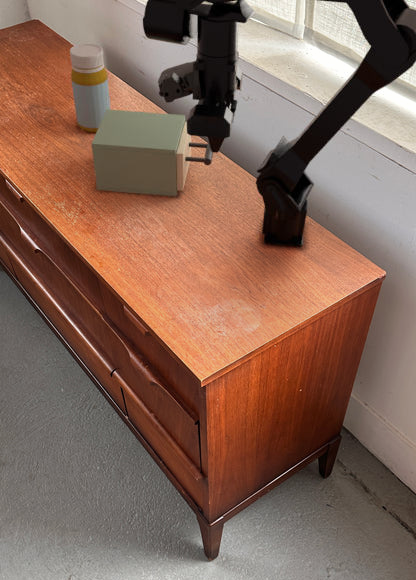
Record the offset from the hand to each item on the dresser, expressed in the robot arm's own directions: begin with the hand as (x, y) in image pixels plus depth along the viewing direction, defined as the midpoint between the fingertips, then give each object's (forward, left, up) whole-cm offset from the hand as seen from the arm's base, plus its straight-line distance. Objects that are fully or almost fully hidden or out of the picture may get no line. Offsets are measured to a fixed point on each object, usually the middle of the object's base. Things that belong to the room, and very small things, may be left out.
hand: (215, 151), depth 101 cm
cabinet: (+14, -11, -12) cm, 22 cm away
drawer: (+10, -11, -11) cm, 19 cm away
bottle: (+27, -28, -13) cm, 41 cm away
